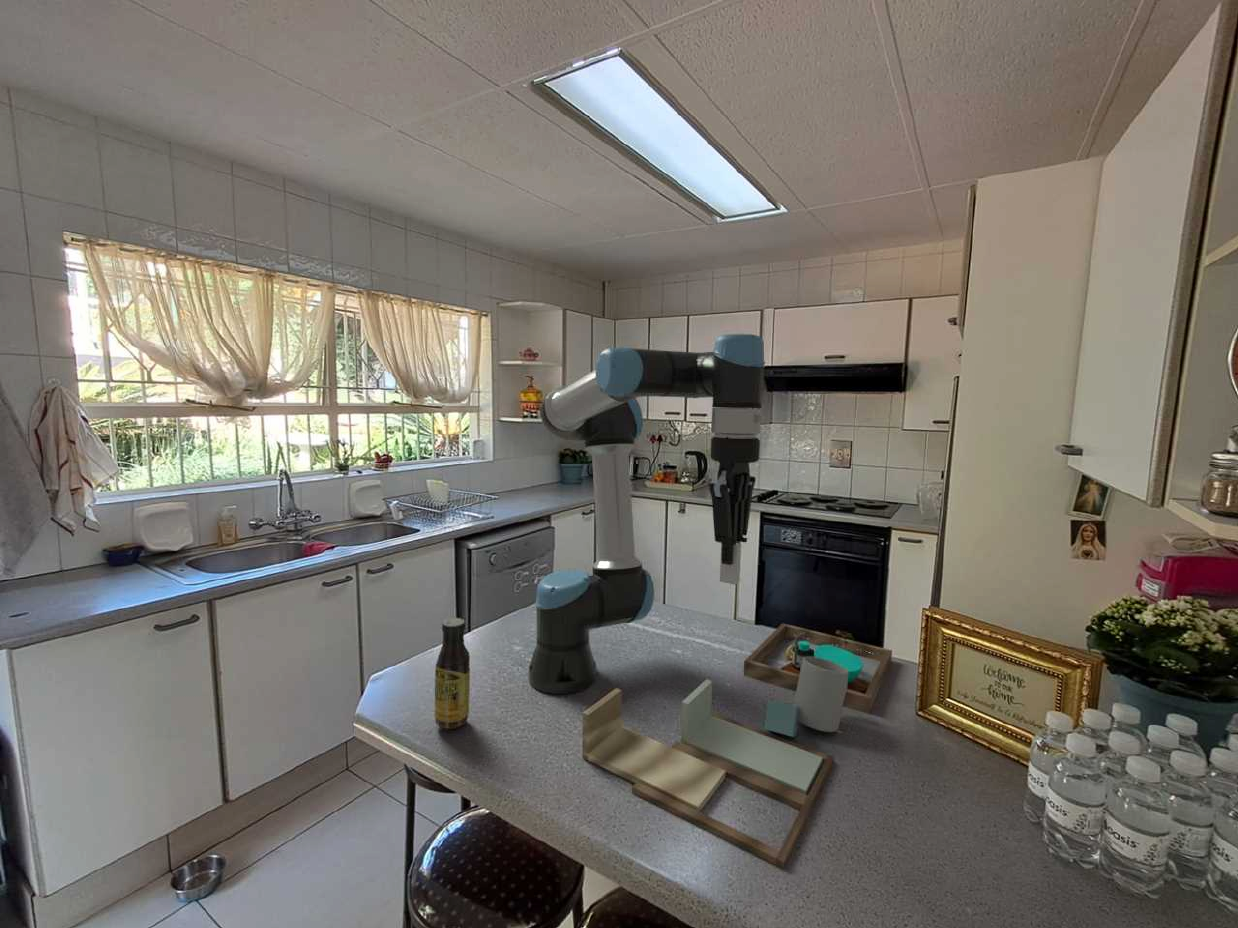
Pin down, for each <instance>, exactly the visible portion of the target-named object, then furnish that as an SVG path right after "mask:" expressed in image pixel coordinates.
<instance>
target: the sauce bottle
mask: <svg viewBox="0 0 1238 928" xmlns="http://www.w3.org/2000/svg"><path fill="white" fill-rule="evenodd" d="M465 622H466V621H465V620H464V619H463V618H459V617H451V618H447V619H444V620H443V622H442V623H441V624H442V625H441V630H442V632H443V633H442V646H441V649H440V652H439V654H438V658H437V660H436V664H435V670H434V671H435V676H434V677H435V678H434V684H435V685H434V718H435V723H436V725H437V726H438V727H439V728H441V729H448V730H449V729H457V728H459V727H461V726H463V725H465V724H466V722H467V721H468V719H469V713H470V690H471V689H470V686H471V685H470V683H471V682H470V680H471V678H470V676H471V668H470V659H471V658H470V657H471V656H470V652H469V650H468V649H467V648H466V645H465V640H464V639H465V637H464V635H465V634H464V633H465V632H464V630H465V629H466V623H465Z"/></svg>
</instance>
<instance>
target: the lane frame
mask: <svg viewBox="0 0 1238 928" xmlns="http://www.w3.org/2000/svg"><path fill="white" fill-rule="evenodd" d="M711 716H713V717H716V718H719V719H721V720H724V721H727V722H729V723H732V724H735V725H737V726H740V727H743V728H746V729H748V730H751V731H754V732H756V733H759V734H762V735H764V736H767V737H770V738H772V739H775V740H778V741H780V742H783V743H786V744H789V745H791V746H794V747H797V748H799V749H802V750H805V751H807V752H810V753H813V754H815V755H818V756H821V757H823V762H822V766H821V768H820V770H819V772H818V774H817V776H816V778H815V780H814V782H813V784H812V785H811V787H810V789H809V791H808V793H807V795H806V794H804V793H801V792H799V791H797V790H794V789H792V788H789V787H787V786H785V785H782V784H780V783H777V782H775V781H773V780H770V779H768V778H765V777H763V776H761V775H758V774H756V773H753V772H751V771H749V770H746V769H744V768H741V767H739V766H737V765H734V764H732V763H729V762H727V761H725V760H722V759H720V758H717V757H715V756H713V755H710V754H708V753H705V752H703V751H701V750H698V749H696V748H693V747H691V746H689V745H686V744H684V743H681V741H679V740H676V741H675V742H674V743H673V744H672V745H671V746H670V747H671V748H674V749H676V750H678V751H681V752H683V753H686V754H688V755H690V756H693V757H695V758H697V759H700V760H702V761H704V762H707V763H709V764H711V765H714V766H716V767H718V768H721V769H723V770H725V771H726V777H725V779H728V780H731V781H733V782H735V783H737V784H740V785H742V786H745V787H747V788H749V789H751V790H754V791H755V792H759V793H761V794H764V795H766V796H767V797H770V798H772V799H775V800H776V801H779V802H781V803H783V804H786V805H788V806H791V807H793V808H795V809H797V810H799V812H798V814H797V816H796V818H795V820H794V822H793V824H792V825H791V828H790V830H789V832H788V833H787V836H786V838H785V839H784V842H783V844H782V846H781V848H780V850H779V849H777V848H775V847H773V846H771V845H769V844H766V843H764V842H762V841H760V840H759V839H756V838H755V837H753V836H750V835H748V834H746V833H744V832H742V831H740V830H737V829H736V828H733V827H731V826H730V825H728V824H725V823H723V822H722V821H719V820H718V819H715V818H713V817H711V816H709V815H707V814H705V813H703V812H701V811H700V812H699V811H697V810H695V809H693V808H691V807H689V806H687V805H685V804H683V803H681V802H679V801H677V800H675V799H672V798H670V797H668V796H666V795H664V794H662V793H660V792H658V791H656V790H654V789H652V788H650V787H648V786H646V785H644V784H642V783H640V782H638V781H637V782H636V783H633V785H632V786H631V793H632V794H634V795H636V796H638V797H640V798H642V799H643V800H646V801H648V802H650V803H651V804H654V805H655V806H658V807H660V808H661V809H663V810H666V811H668V812H670V813H671V814H674V815H676V816H678V817H679V818H682V819H683V820H685V821H688V822H689V823H691V824H693V825H696V826H697V827H699V828H701V829H703V830H705V831H707V832H709V833H711V834H714V835H715V836H717V837H719V838H722V839H723V840H725V841H727V842H729V843H731V844H734V845H735V846H737V847H738V848H741V849H743V850H745V851H748V852H749V853H751V854H752V855H754V856H757V857H759V858H761V859H763V860H765V861H767V862H769V863H771V864H772V865H774V866H777V867H779V868H781V869H783V870H784V869H785V866H786V865H787V862H788V860H789V858H790V855H791V853H792V851H793V849H794V846H795V844H796V843H797V841H798V839H799V837H800V834H801V832H802V830H803V829H804V825H805V823H806V822H807V820H808V817H809V815H810V813H811V811H812V809H813V808H814V805H815V803H816V801H817V798H818V796H819V794H820V793H821V790H822V788H823V785H824V784H825V781H826V780H827V777H828V775H829V773H830V771H831V769H832V767H833V765H834V763H835V760H834V759H835V757H834V756H833V755H830V754H827V753H824V752H821V751H818V750H816V749H813V748H810V747H807V746H805V745H803V744H799V743H796V742H794V741H791V740H788V739H786V738H783V737H781V736H777V735H776V734H772V733H770V732H767V731H763V730H762V729H759V728H756V727H753V726H750V725H747V724H745V723H743V722H739V721H737V720H735V719H732V718H728V717H726V716H723V715H721V714H717V713H716V712H713V711H711Z"/></svg>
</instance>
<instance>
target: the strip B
mask: <svg viewBox="0 0 1238 928" xmlns="http://www.w3.org/2000/svg"><path fill="white" fill-rule="evenodd" d="M712 697H713V680H710V679H709V678H708V679H705V680H704V681H703V682H702V683H701V684H700V685H698V687H697V688H695V689H694V690H693V691H692V692H691V693H690V694H689V695H688V696H687V697H685V698H684V700H682V702H681V716H680V717H681V721H680V725H681V726H680V742H681V743H684V744H686V745H689V746H691V747H693V748H696V749H698V750H701V751H703V752H705V753H708V754H710V755H713V756H715V757H717V758H720V759H722V760H725V761H727V762H729V763H732V764H734V765H737V766H739V767H741V768H744V769H746V770H749V771H751V772H753V773H756V774H758V775H761V776H763V777H765V778H768V779H770V780H773V781H775V782H777V783H780V784H782V785H785V786H787V787H789V788H792V789H794V790H797V791H799V792H801V793H804V794H806V795H808V794H809V792H810V790H811V788H812V786H813V784H814V782H815V780H816V778H817V776H818V774H819V772H820V770H821V768H822V766H823V764H822V762H823V757H821V756H818V755H815V754H813V753H810V752H807V751H805V750H802V749H799V748H797V747H794V746H791V745H789V744H786V743H783V742H780V741H778V740H775V739H772V738H770V737H767V736H764V735H762V734H759V733H756V732H754V731H751V730H748V729H746V728H743V727H740V726H737V725H735V724H732V723H729V722H727V721H724V720H721V719H719V718H716V717H713V716H711V712H712V702H713V698H712Z"/></svg>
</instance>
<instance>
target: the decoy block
mask: <svg viewBox="0 0 1238 928" xmlns="http://www.w3.org/2000/svg"><path fill="white" fill-rule="evenodd" d="M765 713H766V714H765V720H764V727H763V729H765V730H768V731H771V732H775V733H778V734H781V735H785V736H788V737H792V738H793V737H796V735H797V728H798V722H799V721H798V714H799V707H795V706H793V705H791V704H786V703H783V702H780V701H775V700H772V699H767V705H766V711H765Z"/></svg>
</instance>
